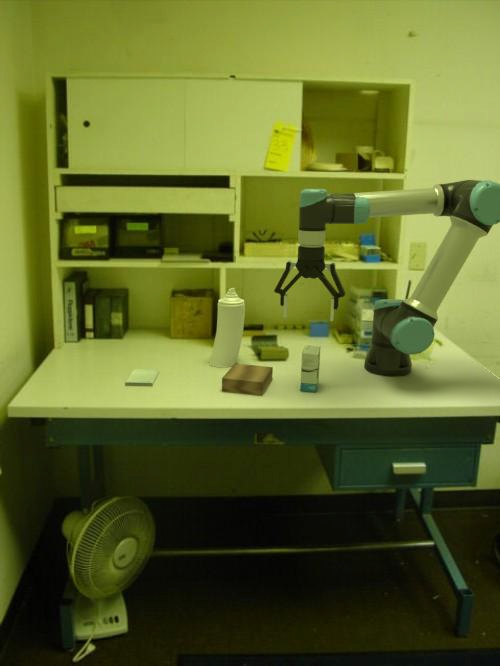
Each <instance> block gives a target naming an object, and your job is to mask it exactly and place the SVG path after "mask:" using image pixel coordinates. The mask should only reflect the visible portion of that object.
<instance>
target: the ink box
mask: <svg viewBox="0 0 500 666" xmlns="http://www.w3.org/2000/svg"><path fill="white" fill-rule="evenodd" d="M320 361H321V346H317V345H306V344H305V345H304V346H303V348H302V351H301V365H300V366H301V367H300V369H301V370H300V387H299V388H300V390H299V391H301V392H309V393H311V392H312V393H317V391H318V390H317V389H318V386H319V379H320V365H321V364H320Z"/></svg>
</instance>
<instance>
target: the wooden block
mask: <svg viewBox="0 0 500 666" xmlns="http://www.w3.org/2000/svg"><path fill="white" fill-rule="evenodd" d="M273 369H274V368H273V366H265V365H264V366H263V365H253V364H245V363H237V362H236V363H235V364H234V365H233V366H230V367H229V369H228V370H227V372H226V373H225V374H224V375H223V376H222V378H221V392H227V393H228V392H229V393H236V394H245V395H253V394H254V396H263V395H264V394H265V392H266V390H267V388H268V387H269V385H270V384H271V383H272V381H273V372H274V371H273Z"/></svg>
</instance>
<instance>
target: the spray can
mask: <svg viewBox="0 0 500 666" xmlns="http://www.w3.org/2000/svg"><path fill="white" fill-rule="evenodd" d="M217 301H218V302H217V317H216V319H217V320H216V321H217V322H216V332H215V337H214V341H213V347H212V351H211V356H210V358H209V359H210V360H209V365H210V366H212V367H216V368H231V367H232V366H233V365H234V364H235V363H236V364H237V361H238V357H239V354H240V349H241V344H242V339H243V335H244V326H245V317H246V316H245V314H246V305H245V299H244V298H243V299H242V298H240V296H239V295H238V294H237V292H236V287H232V288H231V287H230V288H229V289H228V290H227V292H226V294H225V295H224V297H223V298H220V299H218V300H217Z"/></svg>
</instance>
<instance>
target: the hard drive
mask: <svg viewBox="0 0 500 666" xmlns="http://www.w3.org/2000/svg"><path fill="white" fill-rule="evenodd" d="M159 374H160V370H159V369H157V368H156V369H150V368H147V369H146V368H134V369H133V370H132V371H131V373H130V375H129V376H128V378H127V379H126V381H125V383H124V386H125V387H128V386H129V387H154V384H155V383H156V380H157V379H158V376H159Z"/></svg>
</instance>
